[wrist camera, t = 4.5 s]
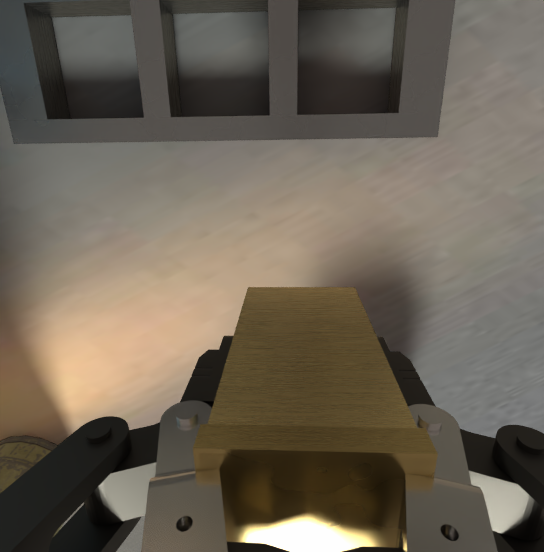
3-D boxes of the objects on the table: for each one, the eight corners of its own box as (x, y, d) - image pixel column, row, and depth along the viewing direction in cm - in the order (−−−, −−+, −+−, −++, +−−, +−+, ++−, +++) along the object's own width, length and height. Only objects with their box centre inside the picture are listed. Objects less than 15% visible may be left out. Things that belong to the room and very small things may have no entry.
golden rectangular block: (357, 284, 14) (437, 453, 6) (351, 380, 15) (411, 612, 8) (245, 284, 14) (192, 448, 6) (249, 379, 15) (210, 603, 8)
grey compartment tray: (440, -22, 20) (460, -42, 18) (422, 137, 23) (437, 136, 20) (7, -8, 21) (-27, -26, 19) (39, 143, 24) (14, 143, 21)
